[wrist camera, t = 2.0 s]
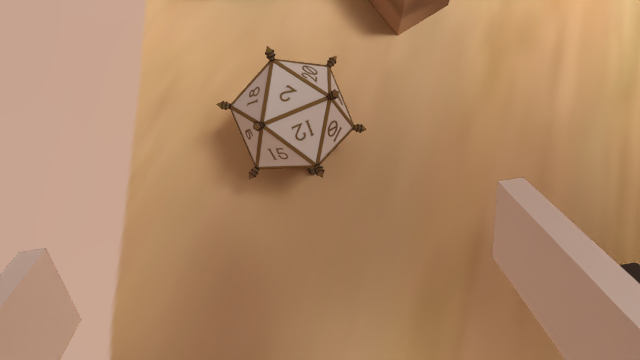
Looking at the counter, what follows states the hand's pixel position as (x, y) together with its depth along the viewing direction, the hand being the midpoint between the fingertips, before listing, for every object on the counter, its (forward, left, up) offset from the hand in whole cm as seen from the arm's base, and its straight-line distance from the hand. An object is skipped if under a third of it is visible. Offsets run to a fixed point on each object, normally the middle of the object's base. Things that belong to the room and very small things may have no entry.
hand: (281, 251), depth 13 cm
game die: (-2, -11, -18) cm, 21 cm away
